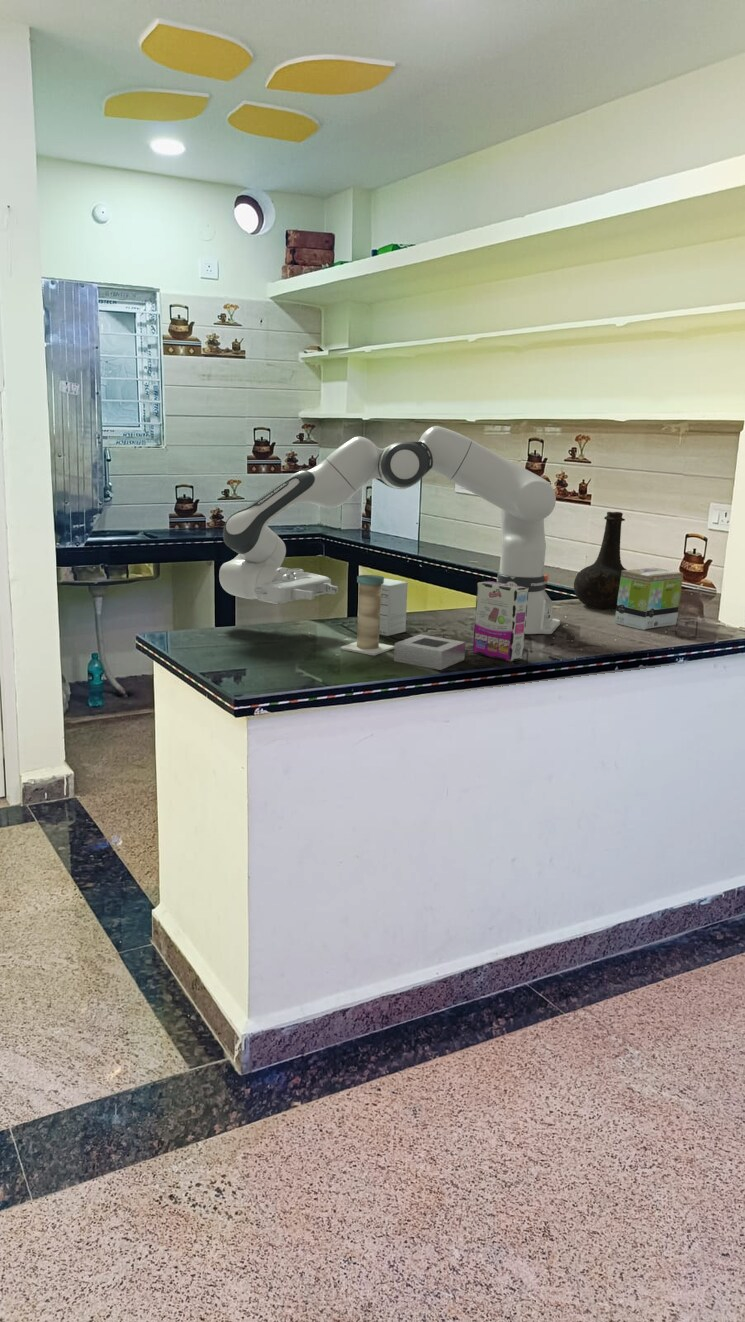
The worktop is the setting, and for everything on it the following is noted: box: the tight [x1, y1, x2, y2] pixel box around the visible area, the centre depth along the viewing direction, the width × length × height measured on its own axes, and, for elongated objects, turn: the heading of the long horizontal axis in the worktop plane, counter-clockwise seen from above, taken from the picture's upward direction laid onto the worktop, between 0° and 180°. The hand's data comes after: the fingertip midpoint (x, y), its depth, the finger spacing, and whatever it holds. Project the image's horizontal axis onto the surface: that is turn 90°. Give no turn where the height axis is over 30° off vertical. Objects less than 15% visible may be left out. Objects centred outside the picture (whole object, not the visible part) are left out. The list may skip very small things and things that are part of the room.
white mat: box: [340, 641, 395, 656], centre depth 210 cm, size 9×9×1 cm
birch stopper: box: [356, 574, 384, 649], centre depth 208 cm, size 6×6×16 cm
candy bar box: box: [472, 580, 529, 663], centre depth 207 cm, size 11×5×16 cm, turn 45°
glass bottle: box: [573, 511, 628, 611], centre depth 268 cm, size 18×18×28 cm
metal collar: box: [393, 634, 466, 671], centre depth 202 cm, size 11×11×4 cm
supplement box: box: [379, 578, 409, 637], centre depth 226 cm, size 7×7×13 cm
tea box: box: [614, 567, 684, 631], centre depth 248 cm, size 15×10×15 cm, turn 129°
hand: (325, 593), depth 213 cm, fingers open, 8 cm apart
